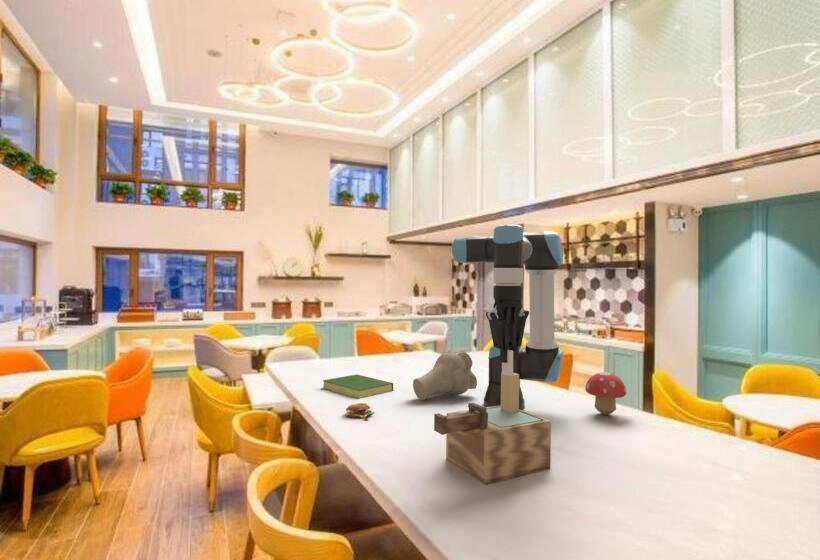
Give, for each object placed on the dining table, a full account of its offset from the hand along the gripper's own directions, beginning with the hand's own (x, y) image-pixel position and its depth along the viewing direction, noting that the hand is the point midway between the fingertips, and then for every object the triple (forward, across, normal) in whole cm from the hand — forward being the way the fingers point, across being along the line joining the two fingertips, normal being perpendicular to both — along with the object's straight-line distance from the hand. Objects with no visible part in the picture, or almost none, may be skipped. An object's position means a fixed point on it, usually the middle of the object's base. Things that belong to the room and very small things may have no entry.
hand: (507, 374), depth 121 cm
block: (+10, +18, +5) cm, 21 cm away
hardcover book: (+24, +6, -90) cm, 93 cm away
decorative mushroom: (+24, -58, -17) cm, 65 cm away
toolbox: (+22, +7, +1) cm, 23 cm away
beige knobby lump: (+24, -18, -63) cm, 70 cm away
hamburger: (+24, +20, -52) cm, 61 cm away
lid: (+12, +2, +1) cm, 12 cm away
